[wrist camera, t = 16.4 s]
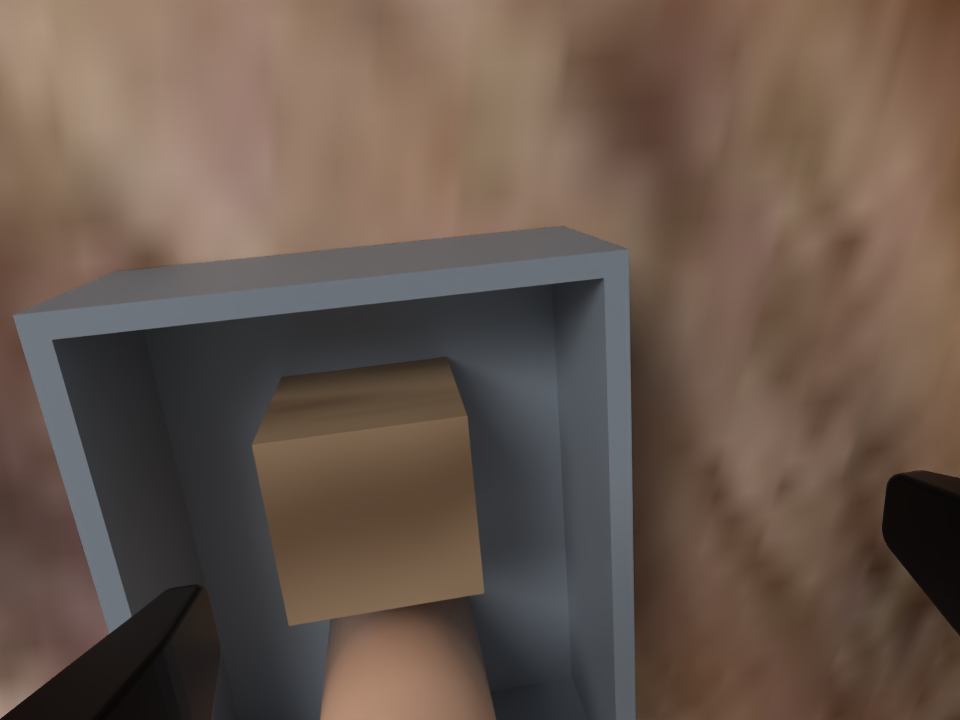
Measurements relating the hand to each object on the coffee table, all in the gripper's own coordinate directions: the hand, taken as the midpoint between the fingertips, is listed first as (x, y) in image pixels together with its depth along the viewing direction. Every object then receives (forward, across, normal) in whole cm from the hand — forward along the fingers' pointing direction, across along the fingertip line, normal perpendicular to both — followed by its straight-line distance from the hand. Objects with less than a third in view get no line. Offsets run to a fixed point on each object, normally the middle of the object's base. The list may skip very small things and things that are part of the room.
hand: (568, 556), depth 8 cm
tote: (+13, +3, +6) cm, 15 cm away
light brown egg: (+12, +3, +10) cm, 17 cm away
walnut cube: (+12, +3, +3) cm, 13 cm away
